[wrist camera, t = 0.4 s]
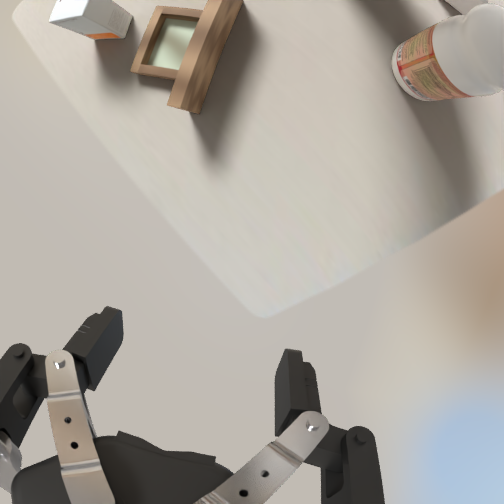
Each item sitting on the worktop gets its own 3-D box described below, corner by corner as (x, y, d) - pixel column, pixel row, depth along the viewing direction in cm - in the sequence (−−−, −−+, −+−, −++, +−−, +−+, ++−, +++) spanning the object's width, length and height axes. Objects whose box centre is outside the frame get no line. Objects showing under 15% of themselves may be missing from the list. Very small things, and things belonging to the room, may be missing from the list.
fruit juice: (383, 39, 28) (515, -39, 2) (436, 46, 27) (573, 7, 1) (395, 100, 32) (561, 85, 6) (447, 103, 31) (602, 110, 5)
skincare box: (93, 40, 29) (46, 22, 18) (102, 17, 28) (58, -6, 17) (125, 39, 30) (81, 16, 19) (134, 15, 28) (94, -14, 17)
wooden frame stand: (172, -8, 26) (151, -36, 18) (243, 1, 27) (237, -30, 19) (129, 99, 33) (96, 93, 25) (199, 114, 34) (179, 108, 26)
